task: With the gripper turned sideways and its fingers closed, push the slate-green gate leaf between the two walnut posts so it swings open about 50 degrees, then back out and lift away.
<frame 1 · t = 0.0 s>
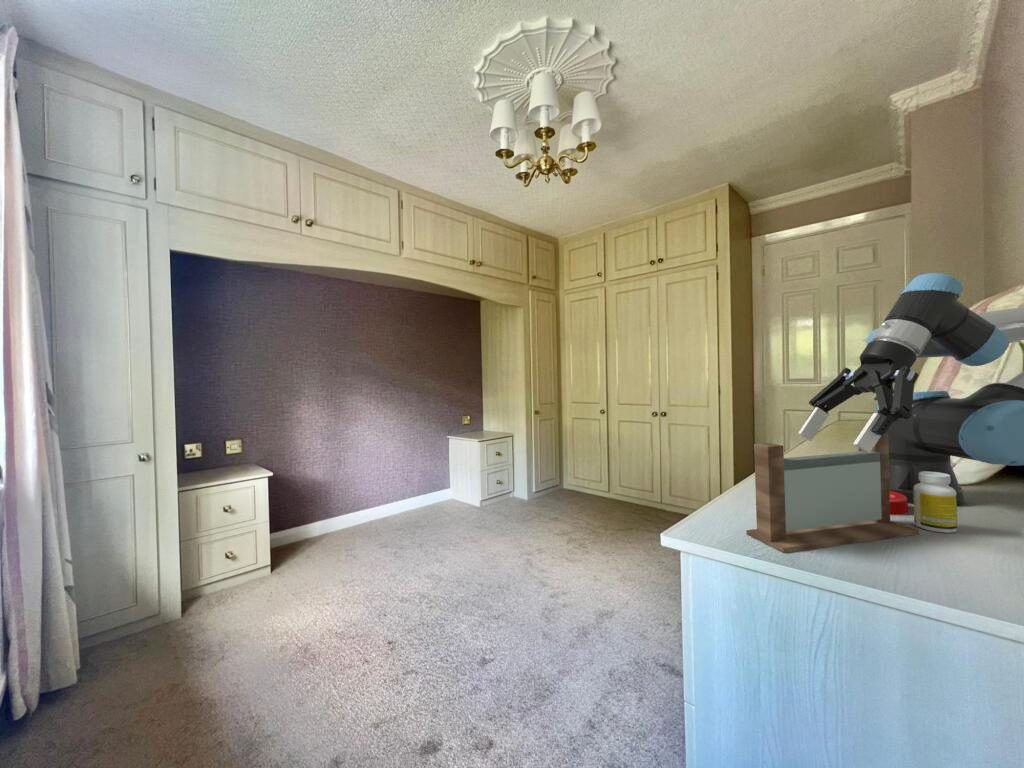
hand: (830, 442, 78), 15 cm above the table, tool tilted 35°, fingers open, 13 cm apart
gate frame: (877, 528, 75), on the table
supplement bottle: (935, 529, 74), on the table
decorative ornament: (875, 509, 86), on the table
gate: (828, 489, 73), point 8 cm above the table, hinge at 0.0°
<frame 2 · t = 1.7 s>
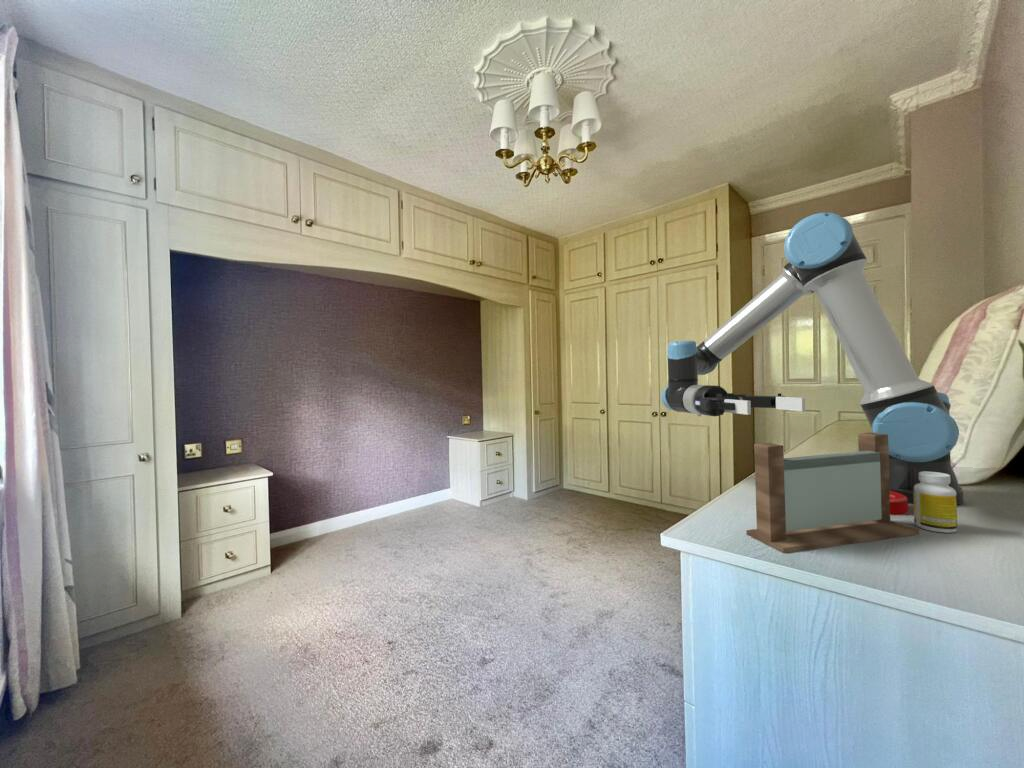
hand: (776, 406, 82), 22 cm above the table, tool horizontal, fingers open, 12 cm apart
nothing on the table moved.
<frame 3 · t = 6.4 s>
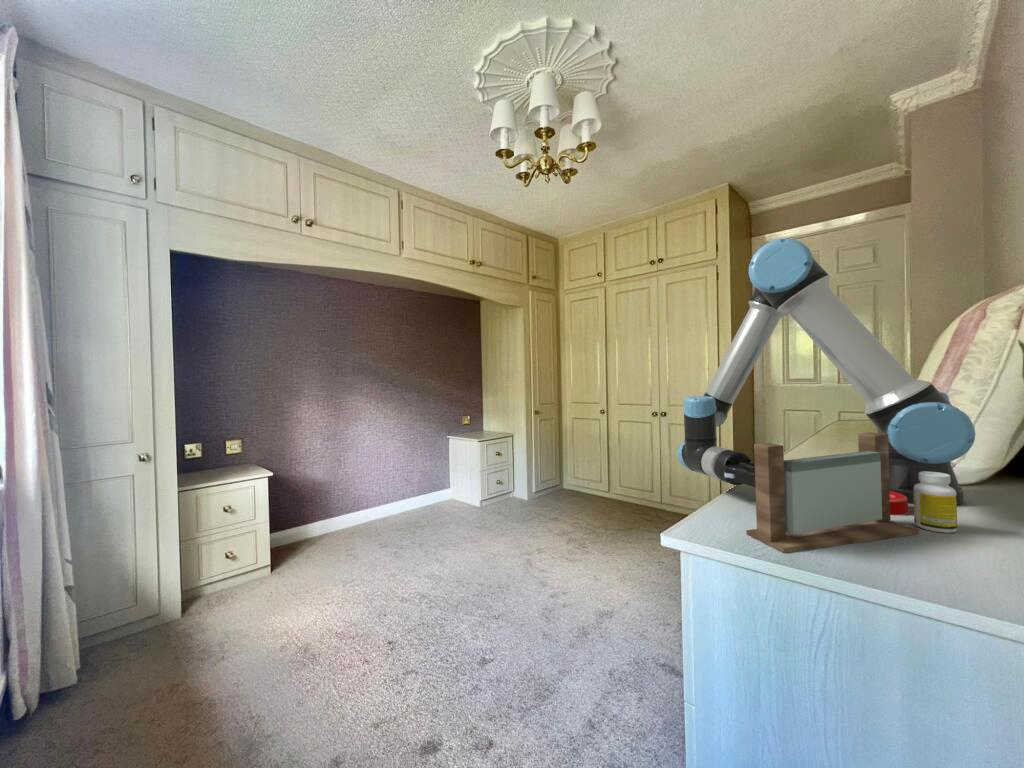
hand: (819, 492, 73), 7 cm above the table, tool horizontal, fingers closed
gate: (832, 490, 72), point 8 cm above the table, hinge at 4.3°, touching gripper
everything else where it was.
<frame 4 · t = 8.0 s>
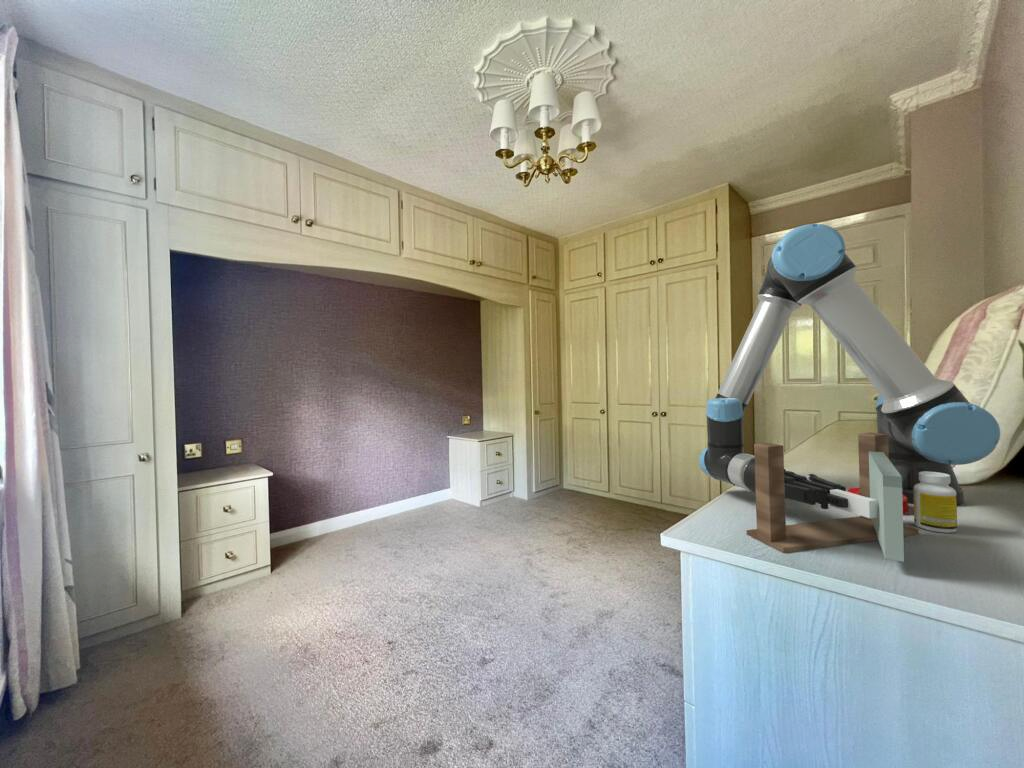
hand: (873, 509, 64), 7 cm above the table, tool horizontal, fingers closed
gate: (884, 499, 66), point 8 cm above the table, hinge at 42.9°, touching gripper
everything else where it was.
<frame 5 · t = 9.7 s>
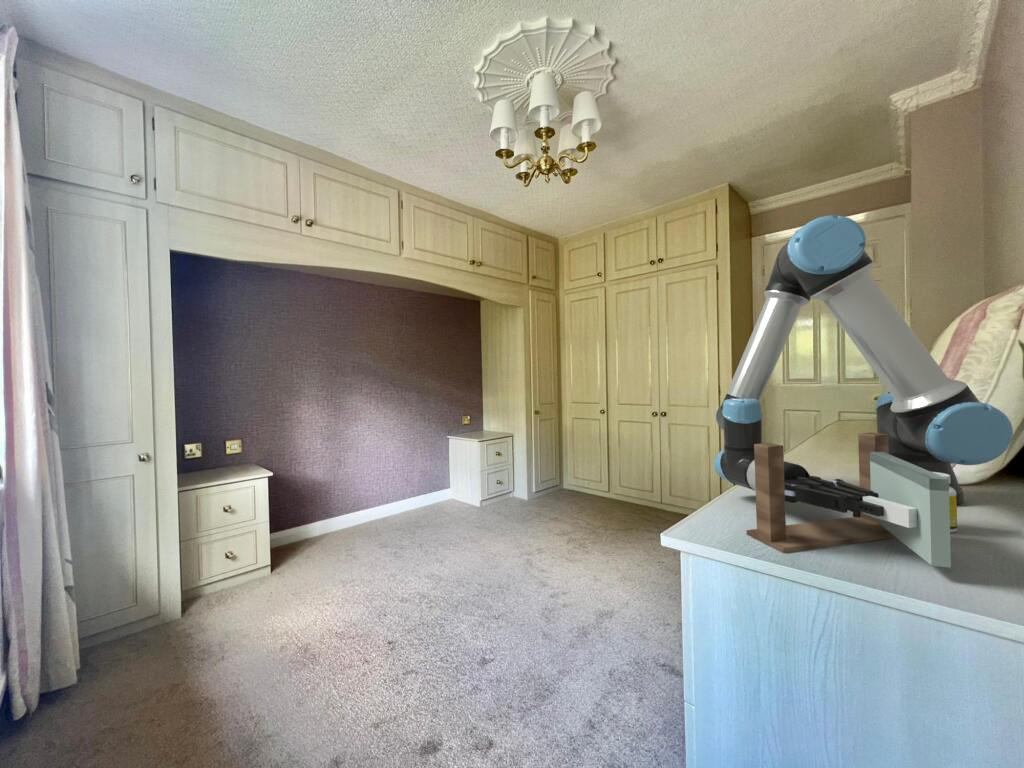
hand: (912, 518, 59), 7 cm above the table, tool horizontal, fingers closed
gate: (904, 501, 65), point 8 cm above the table, hinge at 56.4°, touching gripper
everything else where it was.
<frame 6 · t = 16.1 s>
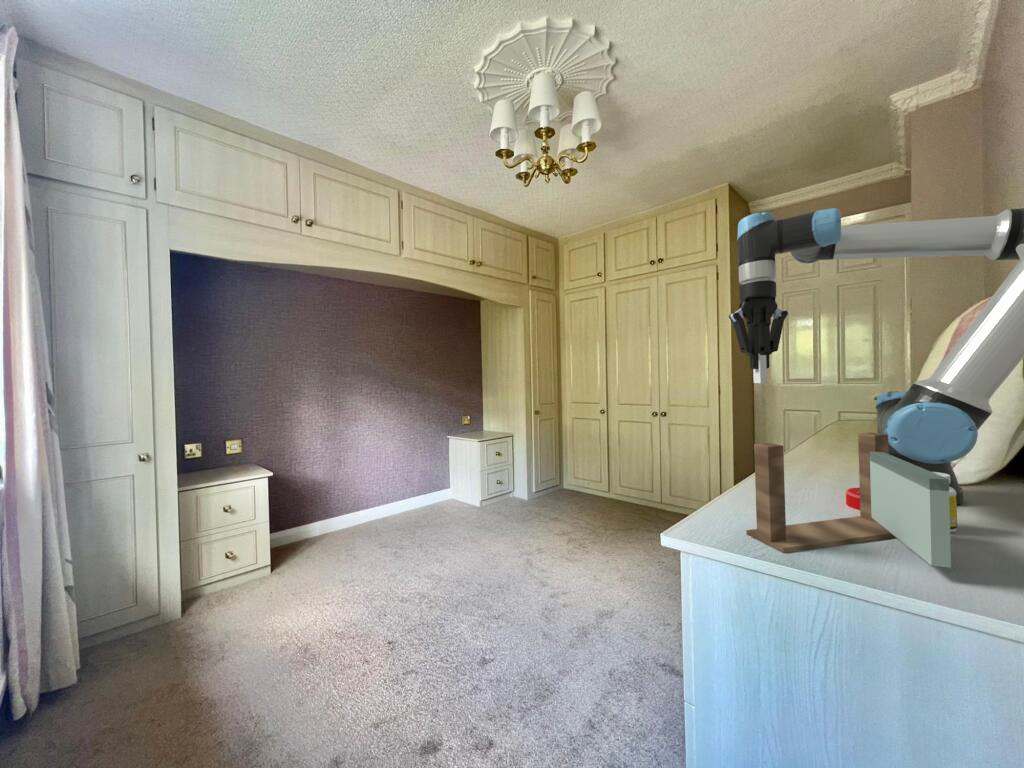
hand: (760, 382, 97), 26 cm above the table, tool pointing down, fingers closed
gate: (904, 501, 65), point 8 cm above the table, hinge at 56.4°
everything else where it was.
at the end: gate at +56° (first picture: +0°); supplement bottle moved 0.2 cm from its start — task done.
